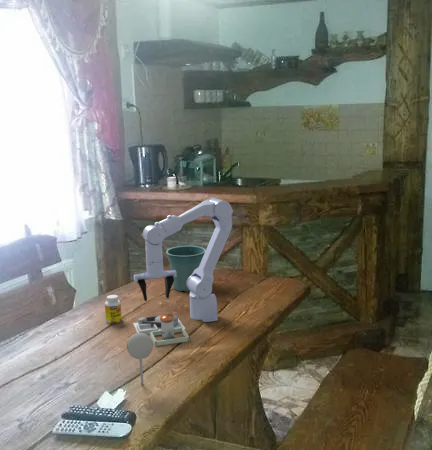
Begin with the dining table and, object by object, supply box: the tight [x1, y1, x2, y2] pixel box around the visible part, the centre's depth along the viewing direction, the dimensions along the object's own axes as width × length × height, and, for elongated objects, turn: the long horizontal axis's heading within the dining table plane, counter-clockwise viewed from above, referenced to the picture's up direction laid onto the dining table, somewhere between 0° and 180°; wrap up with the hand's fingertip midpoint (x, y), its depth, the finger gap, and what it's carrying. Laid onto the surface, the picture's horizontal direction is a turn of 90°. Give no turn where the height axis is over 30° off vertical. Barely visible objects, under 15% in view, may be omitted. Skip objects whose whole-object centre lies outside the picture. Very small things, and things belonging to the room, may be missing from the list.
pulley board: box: [132, 314, 186, 335], centre depth 209 cm, size 16×12×4 cm
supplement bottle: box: [104, 294, 123, 325], centre depth 214 cm, size 6×6×10 cm
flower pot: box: [165, 245, 206, 293], centre depth 253 cm, size 16×16×16 cm
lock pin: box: [160, 313, 175, 340], centre depth 198 cm, size 5×5×8 cm
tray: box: [149, 327, 191, 347], centre depth 198 cm, size 11×9×2 cm
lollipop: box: [126, 332, 154, 386], centre depth 167 cm, size 7×7×15 cm
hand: (156, 298), depth 209 cm, fingers open, 7 cm apart
